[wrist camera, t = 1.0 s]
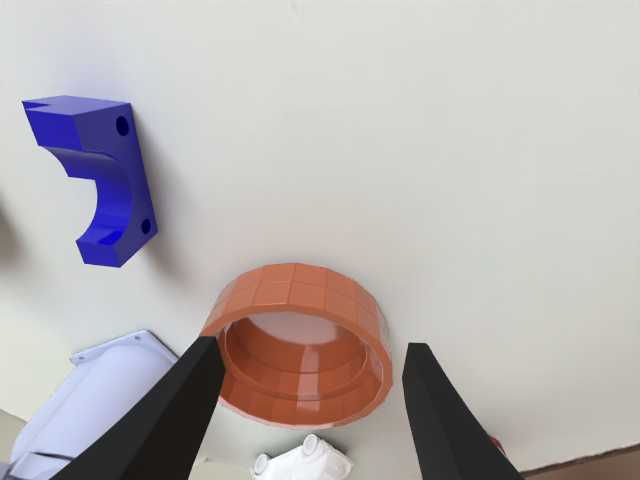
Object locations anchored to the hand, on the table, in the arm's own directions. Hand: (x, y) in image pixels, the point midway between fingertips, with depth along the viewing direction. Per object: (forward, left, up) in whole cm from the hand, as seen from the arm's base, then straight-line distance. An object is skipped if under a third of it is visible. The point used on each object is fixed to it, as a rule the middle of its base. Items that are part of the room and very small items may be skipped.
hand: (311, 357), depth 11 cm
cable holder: (-10, +9, -10) cm, 16 cm away
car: (-16, -26, -10) cm, 32 cm away
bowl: (-6, -7, -9) cm, 13 cm away
